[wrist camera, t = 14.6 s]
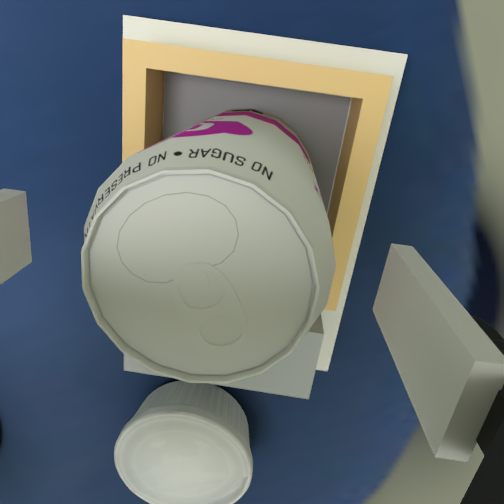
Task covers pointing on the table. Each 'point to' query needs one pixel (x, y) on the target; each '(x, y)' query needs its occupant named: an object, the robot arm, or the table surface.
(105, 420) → the table surface
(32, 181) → the table surface
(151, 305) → the supplement can
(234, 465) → the ramekin
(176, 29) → the tan-rimmed shallow tray
